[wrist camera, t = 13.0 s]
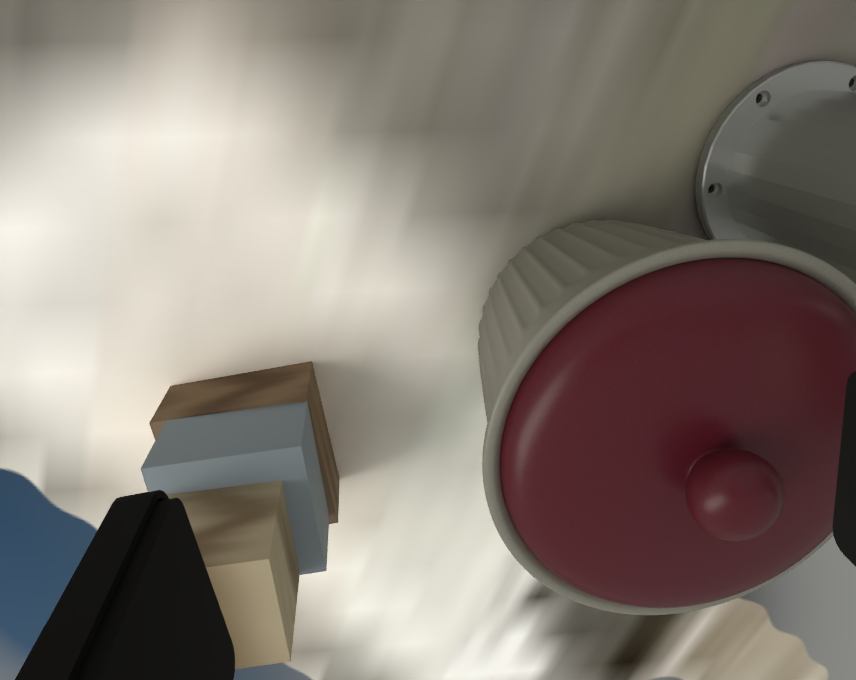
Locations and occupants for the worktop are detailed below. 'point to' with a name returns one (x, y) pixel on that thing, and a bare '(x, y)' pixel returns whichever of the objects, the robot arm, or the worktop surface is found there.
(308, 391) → the tower base
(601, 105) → the worktop surface
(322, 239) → the worktop surface
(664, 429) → the canister
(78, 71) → the worktop surface
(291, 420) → the tower top
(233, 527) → the oak cube
